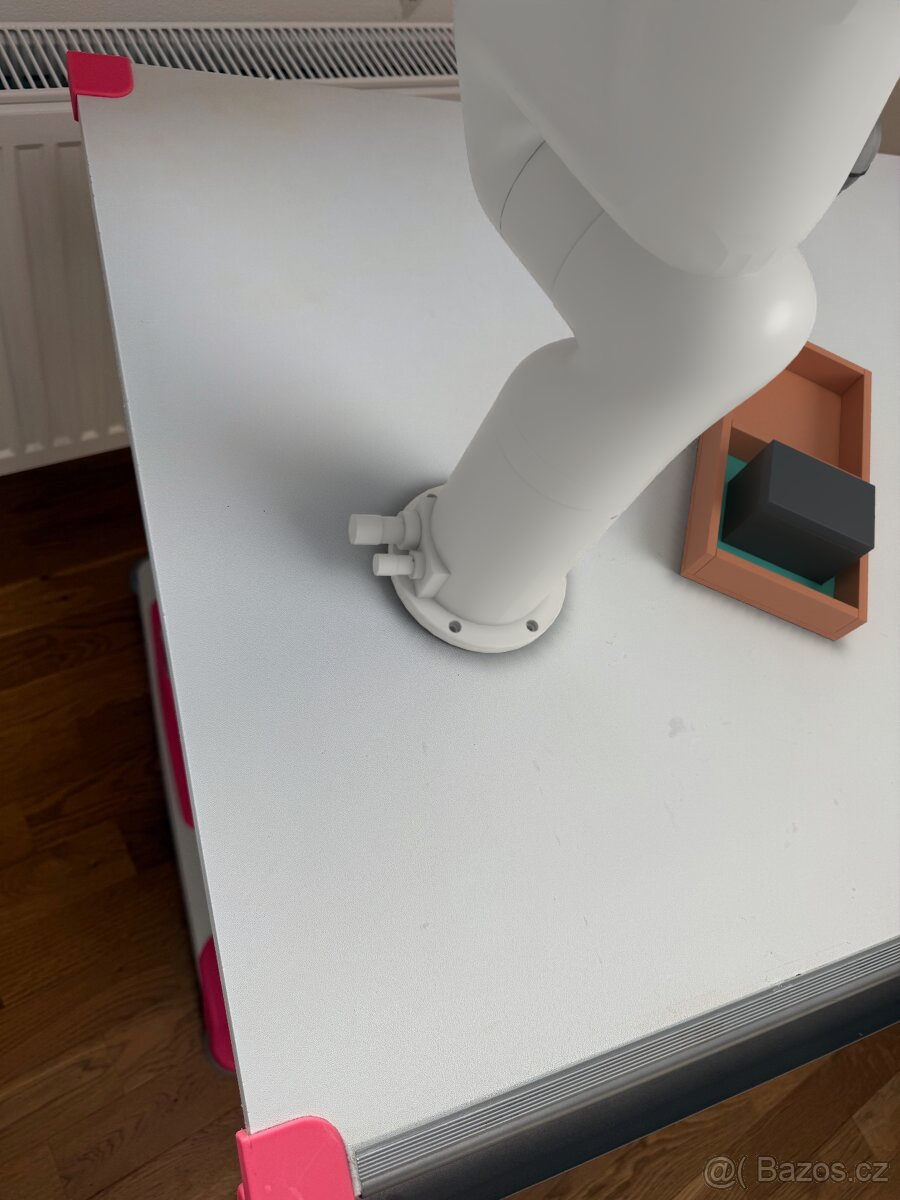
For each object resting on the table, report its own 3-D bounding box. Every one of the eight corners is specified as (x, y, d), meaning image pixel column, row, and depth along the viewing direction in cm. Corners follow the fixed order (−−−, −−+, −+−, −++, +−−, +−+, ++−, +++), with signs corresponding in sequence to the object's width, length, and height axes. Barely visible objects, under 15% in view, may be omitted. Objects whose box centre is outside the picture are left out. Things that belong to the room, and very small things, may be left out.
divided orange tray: (679, 575, 72) (706, 551, 69) (714, 334, 86) (737, 306, 83) (835, 641, 74) (867, 621, 71) (844, 396, 88) (872, 371, 85)
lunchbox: (720, 541, 74) (767, 500, 69) (727, 482, 77) (773, 438, 72) (821, 585, 75) (875, 548, 70) (824, 525, 78) (876, 485, 73)
